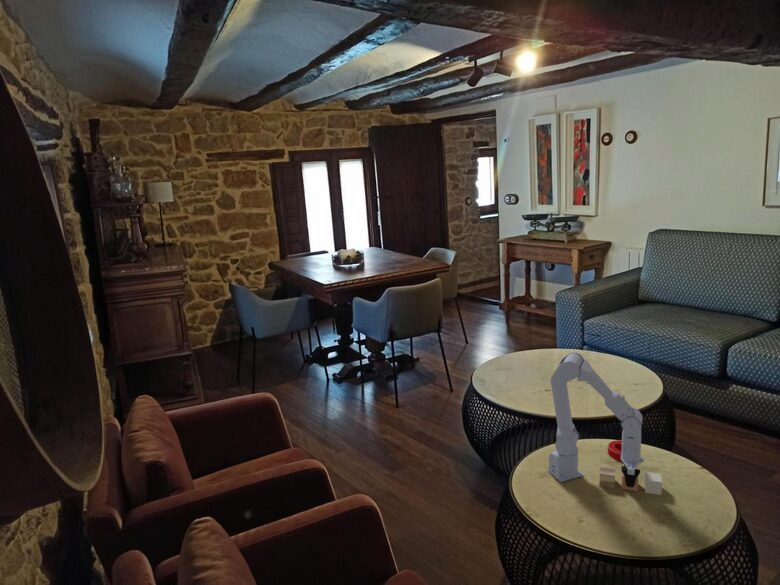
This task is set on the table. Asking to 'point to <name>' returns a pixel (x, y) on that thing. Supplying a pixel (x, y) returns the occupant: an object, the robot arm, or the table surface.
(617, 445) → the decorative ornament
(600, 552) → the table surface
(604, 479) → the beech cube
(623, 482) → the terracotta cube
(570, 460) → the robot arm
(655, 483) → the cream cube
